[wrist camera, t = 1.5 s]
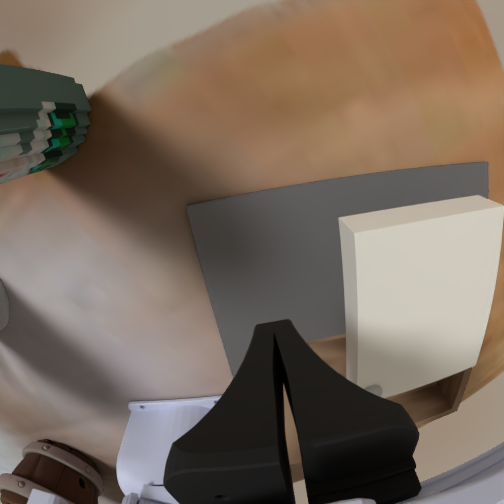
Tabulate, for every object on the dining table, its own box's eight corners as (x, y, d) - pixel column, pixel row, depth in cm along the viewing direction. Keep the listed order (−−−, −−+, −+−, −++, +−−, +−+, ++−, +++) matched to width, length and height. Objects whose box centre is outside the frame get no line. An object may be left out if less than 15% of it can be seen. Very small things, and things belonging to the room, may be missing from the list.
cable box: (282, 426, 27) (287, 465, 23) (265, 349, 23) (270, 392, 19) (440, 384, 26) (459, 414, 22) (457, 302, 23) (487, 332, 18)
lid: (459, 345, 19) (476, 366, 17) (346, 380, 19) (356, 407, 17) (477, 194, 15) (505, 206, 13) (338, 217, 15) (355, 234, 13)
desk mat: (251, 430, 28) (251, 433, 27) (186, 205, 20) (185, 206, 19) (456, 377, 27) (458, 379, 26) (484, 161, 19) (488, 162, 18)
